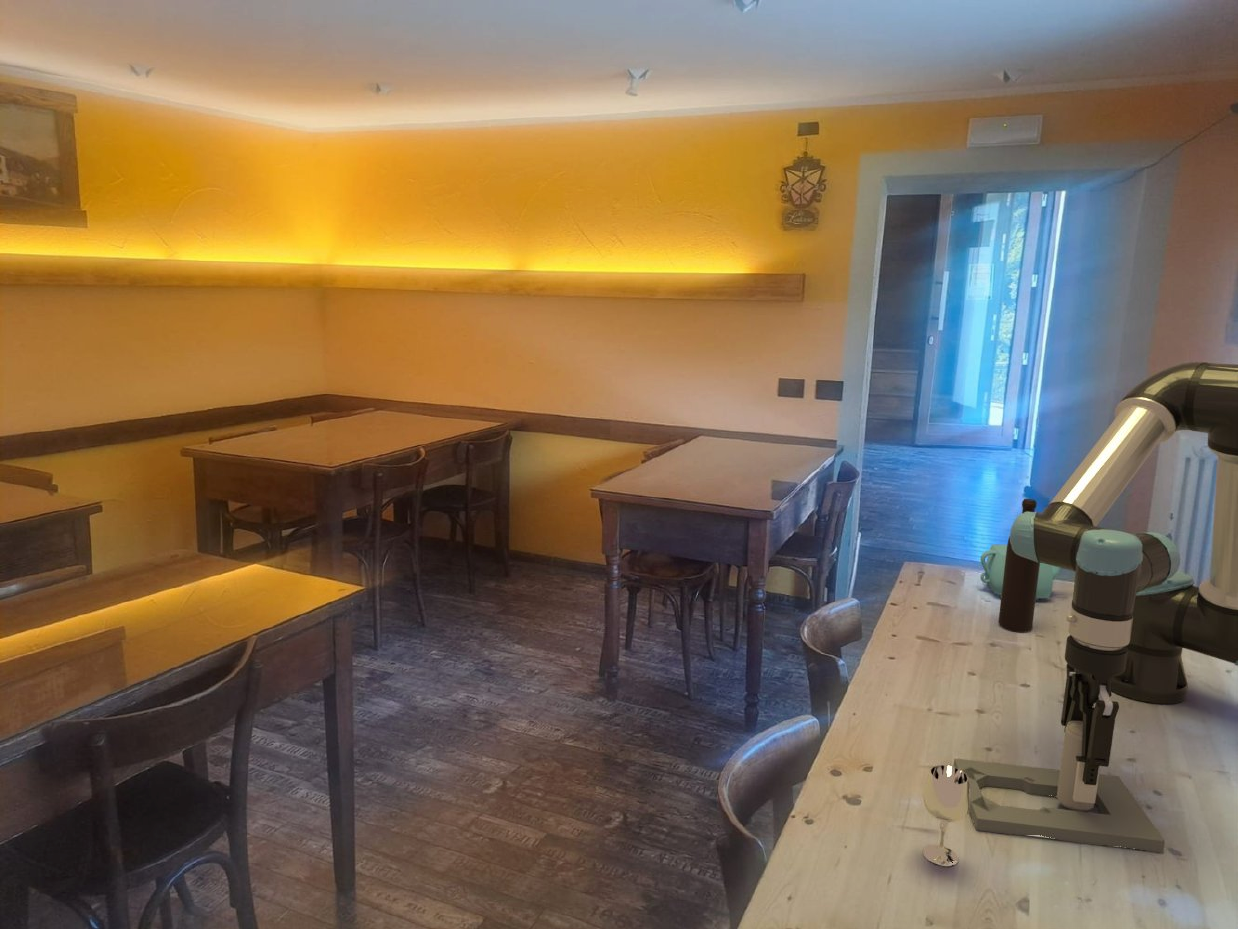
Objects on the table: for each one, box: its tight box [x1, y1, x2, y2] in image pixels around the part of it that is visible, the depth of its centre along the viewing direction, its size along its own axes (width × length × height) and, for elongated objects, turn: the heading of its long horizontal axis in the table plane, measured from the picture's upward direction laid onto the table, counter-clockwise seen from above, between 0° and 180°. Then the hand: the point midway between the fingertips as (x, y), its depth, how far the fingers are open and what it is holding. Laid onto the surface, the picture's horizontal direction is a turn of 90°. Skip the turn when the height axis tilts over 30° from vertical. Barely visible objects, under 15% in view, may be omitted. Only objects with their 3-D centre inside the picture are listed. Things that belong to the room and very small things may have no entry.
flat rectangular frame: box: [953, 757, 1166, 854], centre depth 124 cm, size 24×16×2 cm, turn 79°
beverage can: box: [1056, 721, 1095, 812], centre depth 122 cm, size 5×5×12 cm
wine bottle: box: [998, 498, 1040, 633], centre depth 190 cm, size 7×7×30 cm
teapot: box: [979, 544, 1062, 602], centre depth 214 cm, size 18×16×14 cm
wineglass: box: [922, 764, 970, 866], centre depth 111 cm, size 6×6×12 cm
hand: (1077, 789), depth 123 cm, fingers closed on beverage can, 5 cm apart
